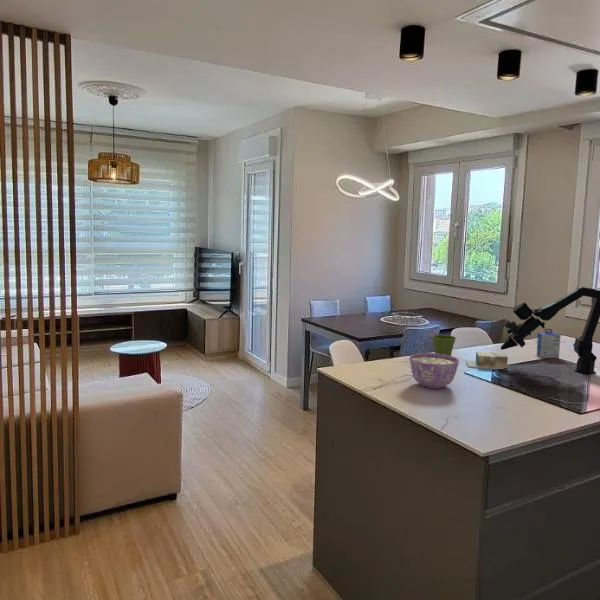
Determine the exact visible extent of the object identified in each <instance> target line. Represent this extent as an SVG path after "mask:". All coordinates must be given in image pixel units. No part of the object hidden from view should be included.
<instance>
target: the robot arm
mask: <svg viewBox="0 0 600 600" xmlns="http://www.w3.org/2000/svg"><path fill="white" fill-rule="evenodd" d="M582 297H587V298H591V309H590V311H589V314H588V317H587V319H586V322H585V325H584V328H583V332H582V334H581V335H580V337H575V339H574V343H573V345H572V346H573V351H574V353H576V354H577V356H578V358H577V361H576V369H575V370H574V372H577V373H580V374H585V375H592V374H596V373H597V371H595V366H596V365H595V364H596V360H597V356H596V355H595V354H594V353H593V338H594V335H595V332H596V330H597V327H598V324H599V320H600V287H597V288H590V287H584V286H577V287H576V288H575V289H574V290H572V291H570V292H569V293H567V294H566V295H564V296H562V297H560V298H558V299H557V300H556V301H554V302H552V303H548V304H544V305H543V306H540V307H539V308H537V309H534V308H533V309H531V308H530V307H529V306H528V304H527V303H526V302H524V301H523V302H522V303H520V304H519V305H516V306H515V307H514V308H513V309H512V313H513V314H514V315H515V316H516V317H517V318H518V319H519V320H520V321H522V320H523V321H524V322H522V323H519V324H517V322H515V321H513V320H512V321H510V320H508V319H506V320H505V322H504V324H503V326H504V327H505V328H506V330H505V332H506V340H505V341H504V342H503V343H502V345H501V346H500V349H501V350H506V349H511V348H513V347H518V346H520V347H521V348H524V346H526V342H525V340H524V339H525V338H527V337H528V336H531V335H532V332H534V331H536V329H538V328H539V327H540V328H542V329H544V330H545V329H546V327H545V325H546V321H551V320H552V318H554V317H555V316H556V315H558V312H559V311H561V310H563V309H564V308H566V307H567V306H569V305H570V304H572V303H574V302H575V301H578V300H579V299H580V298H582ZM534 316H535V317H534Z"/></svg>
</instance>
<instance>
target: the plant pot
mask: <svg viewBox="0 0 600 600" xmlns="http://www.w3.org/2000/svg"><path fill="white" fill-rule="evenodd" d="M431 337H432V341H433V344H434V345H433V347H434V353H438V354H445V355H450V356H452V353H453V348H454V344H455V342H456V340H457V337H456V336H452V335H448V334H433V335H431Z"/></svg>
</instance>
